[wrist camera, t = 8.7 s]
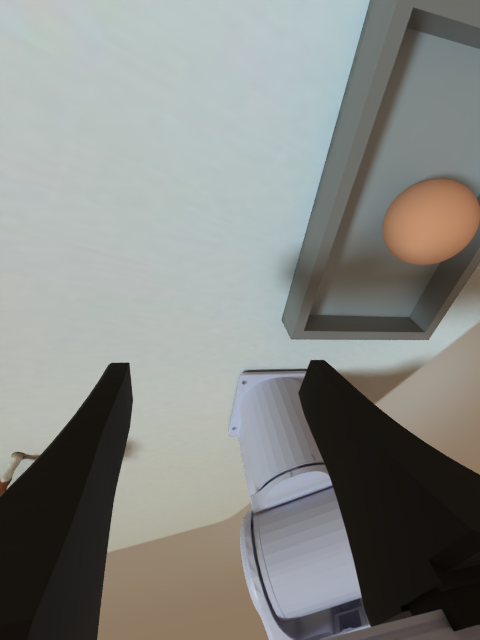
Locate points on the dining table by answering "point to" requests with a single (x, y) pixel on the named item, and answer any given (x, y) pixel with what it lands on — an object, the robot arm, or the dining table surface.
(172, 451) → the dining table surface
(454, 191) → the ball
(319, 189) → the walled pen
